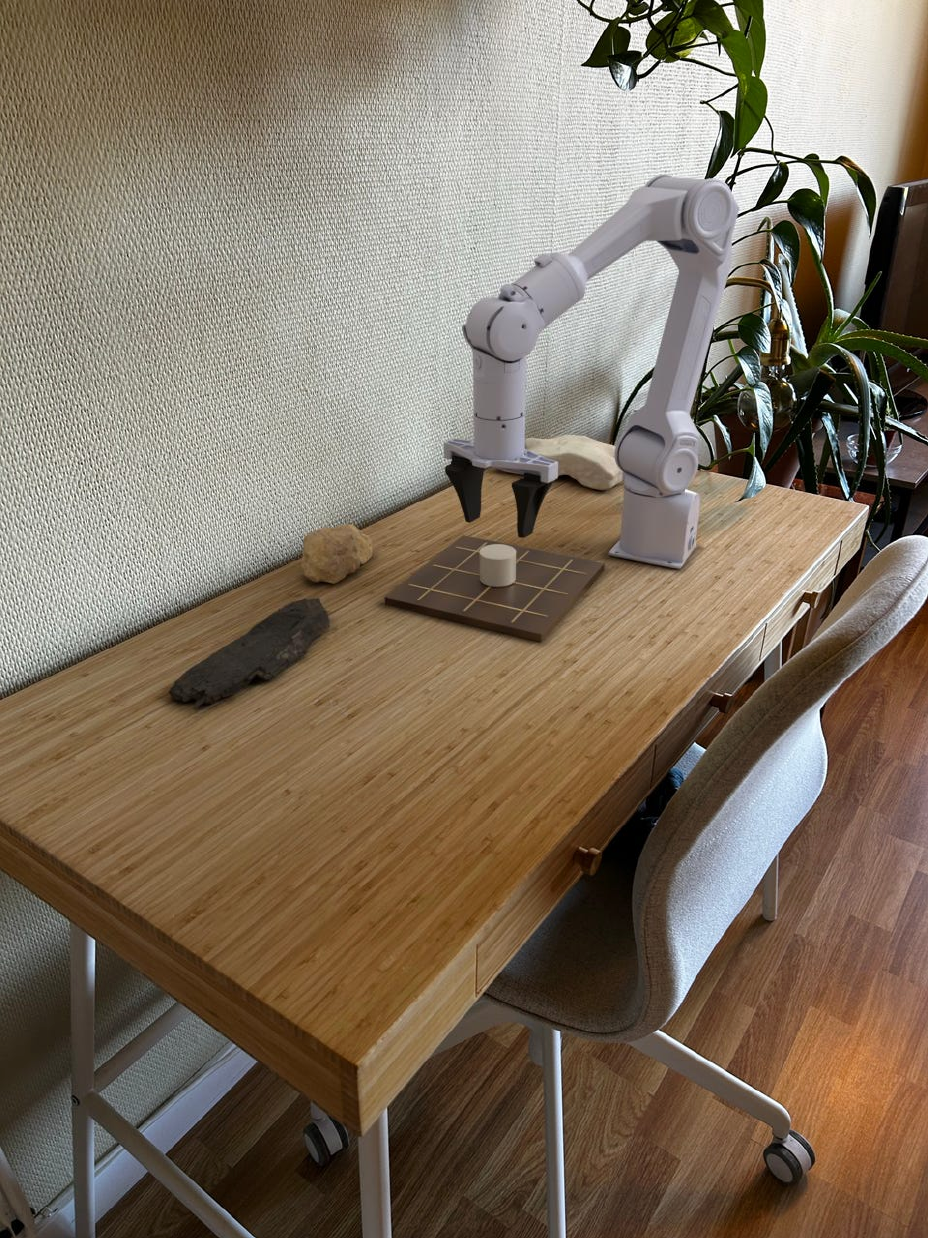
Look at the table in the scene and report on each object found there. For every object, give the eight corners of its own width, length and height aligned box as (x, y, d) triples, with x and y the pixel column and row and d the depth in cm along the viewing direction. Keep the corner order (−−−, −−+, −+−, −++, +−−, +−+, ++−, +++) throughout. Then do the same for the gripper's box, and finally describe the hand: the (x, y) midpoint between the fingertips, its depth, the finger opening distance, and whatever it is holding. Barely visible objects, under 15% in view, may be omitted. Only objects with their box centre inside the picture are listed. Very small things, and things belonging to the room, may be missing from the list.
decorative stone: (650, 438, 146) (615, 461, 135) (647, 469, 148) (612, 494, 137) (531, 420, 156) (488, 440, 144) (530, 450, 158) (487, 471, 147)
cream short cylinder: (516, 571, 112) (516, 544, 110) (515, 587, 108) (516, 559, 107) (480, 570, 112) (480, 543, 111) (478, 586, 109) (478, 559, 107)
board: (604, 570, 115) (604, 562, 114) (541, 642, 99) (541, 633, 99) (463, 541, 123) (463, 534, 122) (384, 604, 107) (384, 596, 107)
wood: (219, 722, 87) (214, 695, 85) (163, 700, 90) (158, 674, 89) (357, 623, 104) (355, 599, 102) (306, 608, 107) (303, 585, 105)
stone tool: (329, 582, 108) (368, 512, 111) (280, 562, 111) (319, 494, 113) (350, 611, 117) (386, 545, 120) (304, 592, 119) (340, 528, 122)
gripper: (425, 410, 102) (429, 523, 108) (534, 433, 94) (531, 553, 101) (463, 396, 107) (465, 505, 113) (570, 417, 99) (565, 532, 105)
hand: (498, 527), depth 107 cm, fingers open, 7 cm apart
